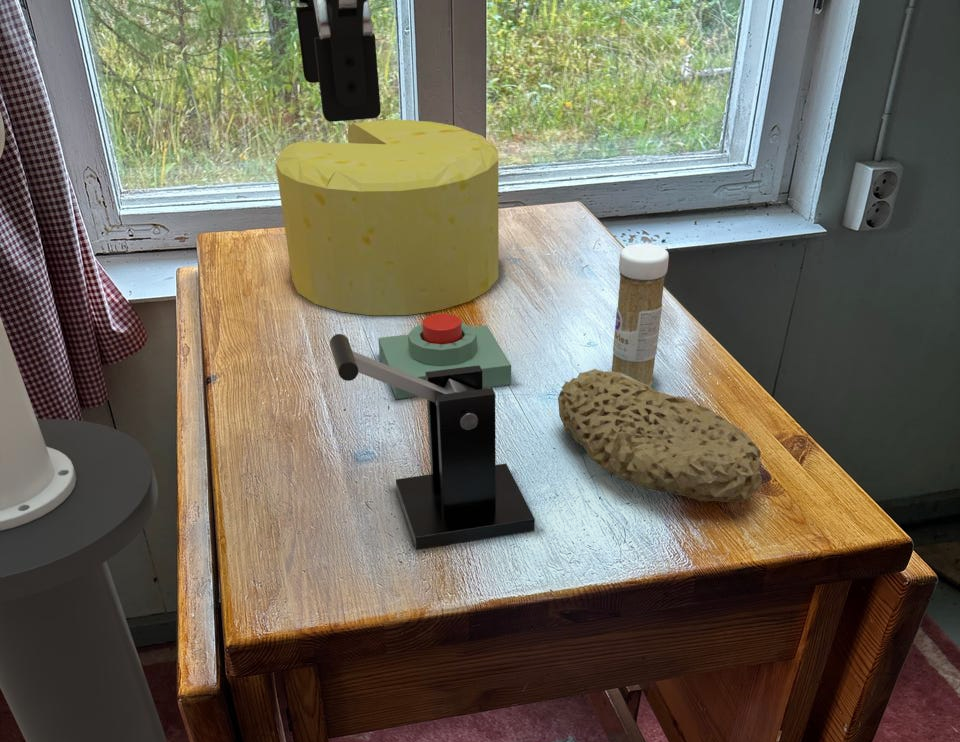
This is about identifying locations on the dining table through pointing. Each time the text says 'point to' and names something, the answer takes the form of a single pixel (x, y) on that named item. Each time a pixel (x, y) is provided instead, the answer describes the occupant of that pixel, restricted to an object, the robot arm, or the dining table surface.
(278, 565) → the dining table surface
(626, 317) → the sprinkles bottle
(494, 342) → the button box
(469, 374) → the bracket
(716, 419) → the sponge
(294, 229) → the cheese
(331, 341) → the lever
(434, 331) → the button
